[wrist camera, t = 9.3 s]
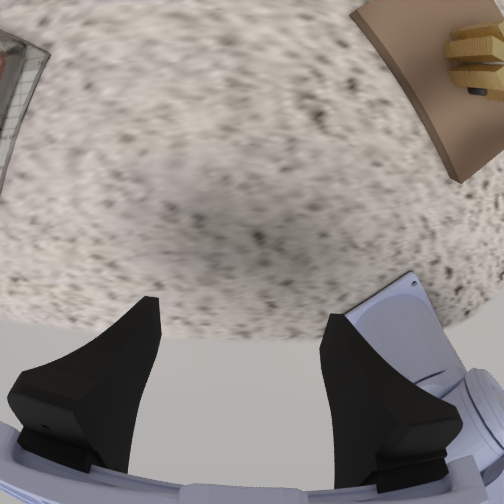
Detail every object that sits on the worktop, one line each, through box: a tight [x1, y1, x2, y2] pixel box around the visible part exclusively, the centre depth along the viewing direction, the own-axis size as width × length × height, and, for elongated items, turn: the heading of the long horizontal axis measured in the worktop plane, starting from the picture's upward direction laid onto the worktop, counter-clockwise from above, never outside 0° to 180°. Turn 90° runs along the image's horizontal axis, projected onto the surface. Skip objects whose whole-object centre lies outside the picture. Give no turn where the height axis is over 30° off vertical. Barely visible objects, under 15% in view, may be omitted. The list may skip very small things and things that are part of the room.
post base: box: [350, 0, 504, 184], centre depth 13 cm, size 13×11×5 cm
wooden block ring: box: [444, 20, 504, 102], centre depth 12 cm, size 5×5×5 cm
